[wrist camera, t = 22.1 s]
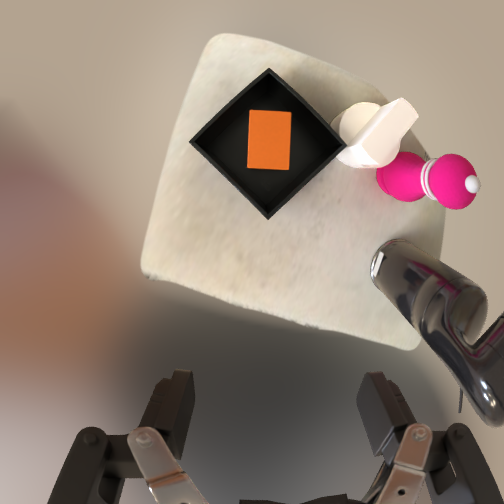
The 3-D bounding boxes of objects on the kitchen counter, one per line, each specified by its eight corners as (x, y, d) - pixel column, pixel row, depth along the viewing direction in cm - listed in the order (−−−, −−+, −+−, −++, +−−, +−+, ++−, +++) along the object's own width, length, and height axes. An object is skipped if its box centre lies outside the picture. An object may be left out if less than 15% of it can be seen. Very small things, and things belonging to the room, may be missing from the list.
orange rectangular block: (283, 126, 36) (291, 112, 26) (281, 170, 38) (289, 169, 28) (251, 124, 36) (249, 109, 27) (250, 168, 38) (247, 167, 28)
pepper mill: (397, 144, 37) (482, 135, 17) (418, 183, 38) (505, 198, 19) (364, 168, 38) (442, 169, 19) (387, 207, 39) (468, 236, 20)
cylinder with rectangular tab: (352, 99, 35) (384, 76, 23) (392, 140, 36) (435, 134, 25) (315, 138, 37) (338, 126, 25) (359, 180, 38) (395, 185, 27)
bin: (329, 150, 37) (347, 145, 29) (266, 209, 40) (268, 220, 32) (267, 87, 35) (269, 67, 27) (202, 147, 38) (188, 141, 30)
